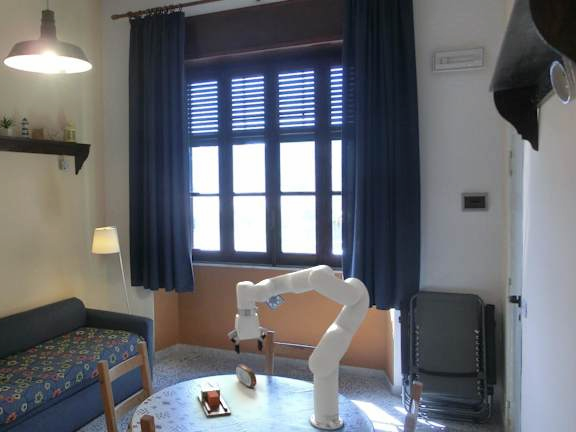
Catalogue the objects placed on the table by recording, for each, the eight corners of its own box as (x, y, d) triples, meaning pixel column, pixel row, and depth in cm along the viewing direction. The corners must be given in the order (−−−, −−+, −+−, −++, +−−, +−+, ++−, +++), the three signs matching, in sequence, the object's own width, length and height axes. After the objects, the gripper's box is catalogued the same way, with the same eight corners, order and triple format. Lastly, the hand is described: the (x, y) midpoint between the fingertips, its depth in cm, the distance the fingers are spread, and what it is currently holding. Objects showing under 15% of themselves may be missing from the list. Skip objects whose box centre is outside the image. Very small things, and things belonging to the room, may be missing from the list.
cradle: (230, 414, 208) (230, 403, 207) (207, 417, 206) (207, 405, 205) (219, 394, 227) (218, 384, 227) (197, 397, 225) (197, 386, 225)
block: (207, 400, 220) (207, 391, 219) (216, 399, 220) (215, 390, 220) (210, 406, 214) (210, 397, 213) (219, 405, 214) (219, 396, 214)
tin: (257, 389, 232) (256, 371, 231) (251, 390, 230) (250, 372, 230) (240, 378, 245) (239, 361, 245) (234, 379, 244) (234, 362, 243)
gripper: (263, 307, 215) (265, 346, 216) (224, 311, 211) (226, 351, 212) (269, 311, 207) (271, 351, 208) (229, 316, 204) (231, 357, 205)
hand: (248, 351), depth 210 cm, fingers open, 9 cm apart
